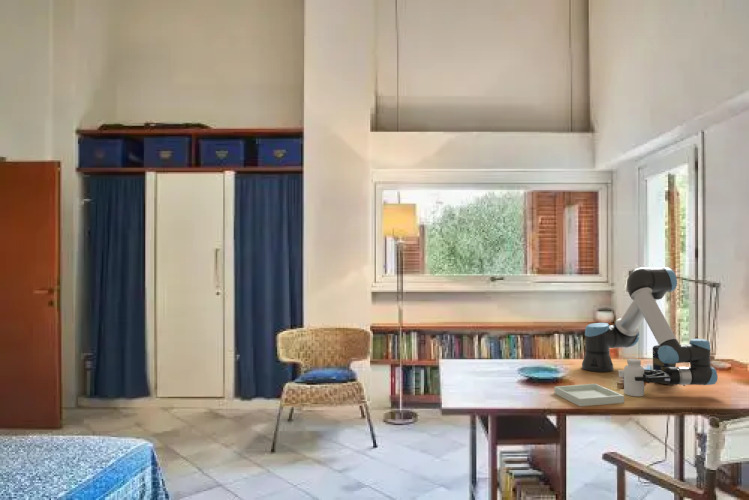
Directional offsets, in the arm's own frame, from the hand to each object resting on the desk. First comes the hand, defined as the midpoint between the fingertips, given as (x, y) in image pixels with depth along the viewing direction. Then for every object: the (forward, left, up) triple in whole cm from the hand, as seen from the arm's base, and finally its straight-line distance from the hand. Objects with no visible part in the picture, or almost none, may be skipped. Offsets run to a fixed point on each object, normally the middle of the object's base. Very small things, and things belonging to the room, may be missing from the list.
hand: (622, 375), depth 242 cm
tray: (+1, -17, -8) cm, 19 cm away
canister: (-13, +31, -8) cm, 34 cm away
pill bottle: (+1, +5, -8) cm, 9 cm away
